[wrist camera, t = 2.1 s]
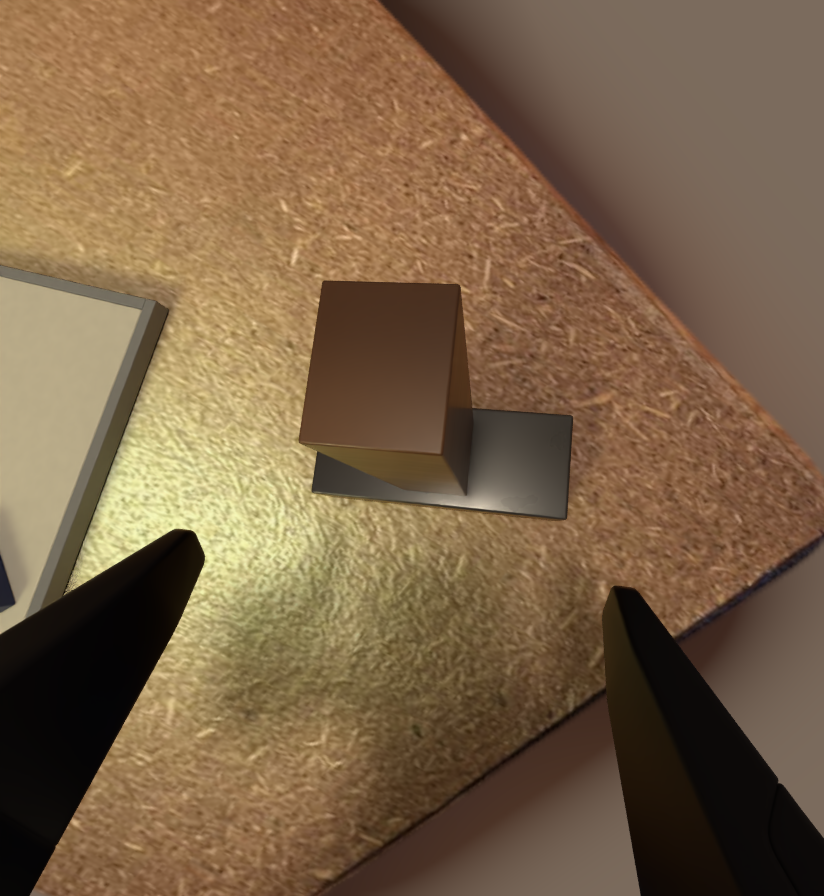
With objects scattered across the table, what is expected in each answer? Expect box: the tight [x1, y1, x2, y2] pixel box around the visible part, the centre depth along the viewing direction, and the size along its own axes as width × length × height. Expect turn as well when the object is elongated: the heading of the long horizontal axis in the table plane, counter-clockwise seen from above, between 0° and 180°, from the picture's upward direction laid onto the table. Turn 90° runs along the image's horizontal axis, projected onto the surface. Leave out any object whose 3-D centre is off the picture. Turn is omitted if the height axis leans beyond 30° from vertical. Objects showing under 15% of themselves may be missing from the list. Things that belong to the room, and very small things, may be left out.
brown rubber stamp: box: [299, 281, 573, 521], centre depth 14 cm, size 4×10×13 cm, turn 84°
